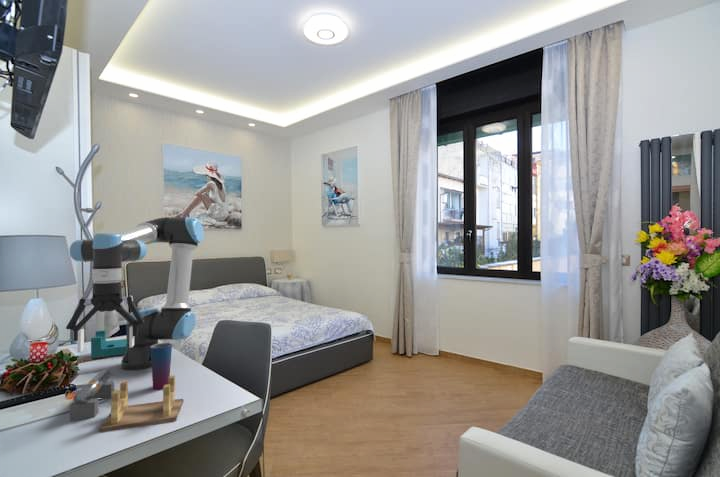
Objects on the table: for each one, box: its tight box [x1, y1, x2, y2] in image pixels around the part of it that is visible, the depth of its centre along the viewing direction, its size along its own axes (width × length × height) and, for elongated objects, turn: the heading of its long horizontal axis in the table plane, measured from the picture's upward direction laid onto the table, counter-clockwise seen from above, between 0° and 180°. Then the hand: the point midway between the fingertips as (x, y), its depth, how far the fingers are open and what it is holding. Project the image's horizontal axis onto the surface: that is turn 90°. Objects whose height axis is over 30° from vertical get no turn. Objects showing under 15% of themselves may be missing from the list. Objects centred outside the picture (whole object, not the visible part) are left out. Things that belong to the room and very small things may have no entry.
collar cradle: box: [98, 374, 184, 433], centre depth 105 cm, size 13×19×10 cm
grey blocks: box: [69, 380, 115, 422], centre depth 111 cm, size 17×6×4 cm, turn 19°
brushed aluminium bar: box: [73, 369, 113, 405], centre depth 111 cm, size 18×4×4 cm, turn 19°
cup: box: [150, 342, 173, 391], centre depth 126 cm, size 7×7×15 cm
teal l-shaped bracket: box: [90, 329, 127, 359], centre depth 164 cm, size 18×11×10 cm, turn 117°
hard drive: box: [69, 371, 100, 389], centre depth 131 cm, size 2×8×12 cm
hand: (106, 348), depth 111 cm, fingers open, 13 cm apart
